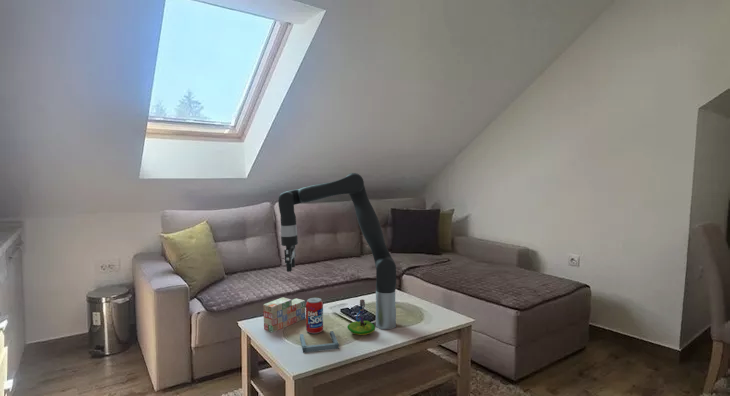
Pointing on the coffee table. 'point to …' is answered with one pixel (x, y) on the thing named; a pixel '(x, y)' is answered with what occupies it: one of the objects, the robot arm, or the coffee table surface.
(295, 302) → the stack of blocks
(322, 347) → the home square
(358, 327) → the pirate figurine
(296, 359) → the coffee table surface
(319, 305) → the soda can
